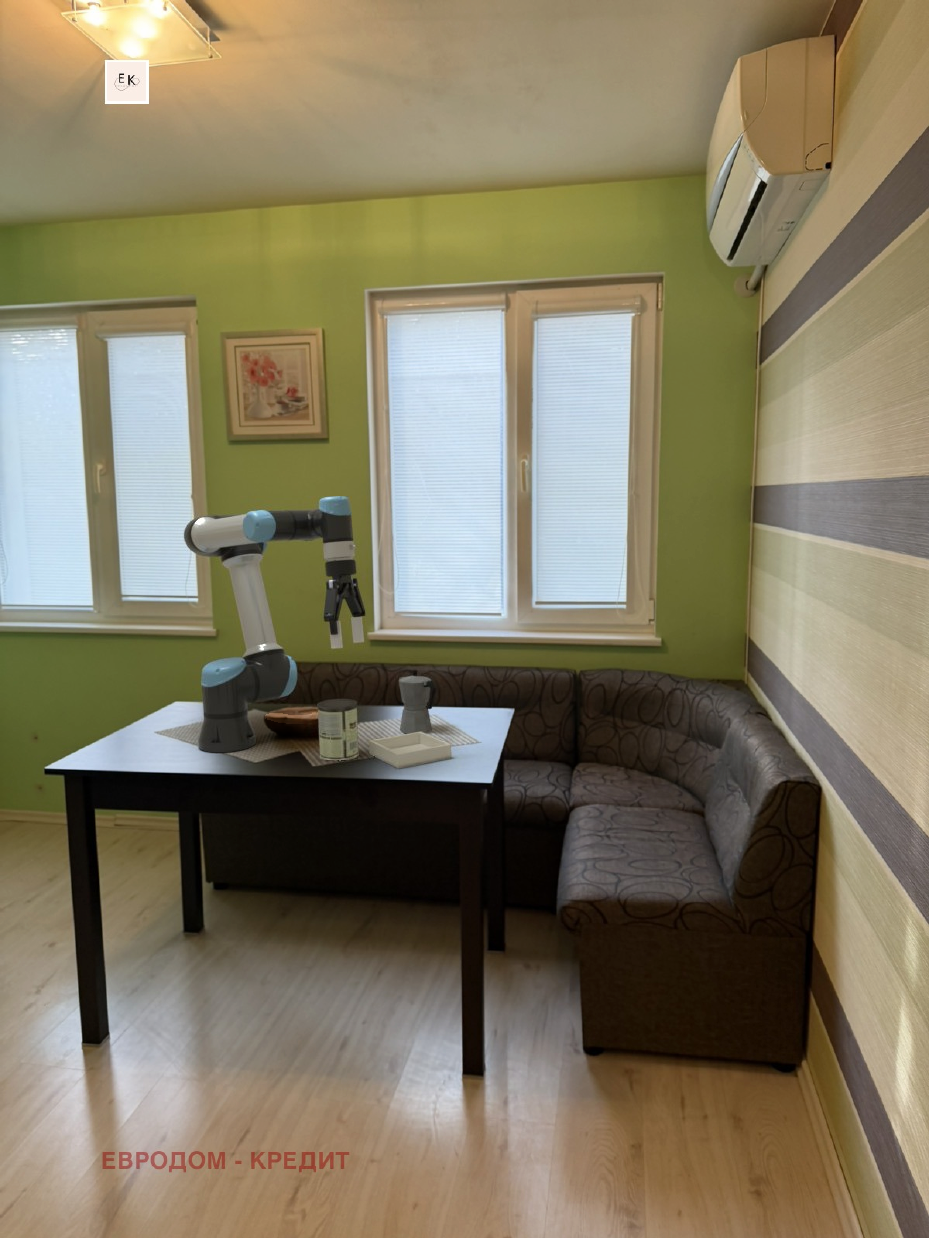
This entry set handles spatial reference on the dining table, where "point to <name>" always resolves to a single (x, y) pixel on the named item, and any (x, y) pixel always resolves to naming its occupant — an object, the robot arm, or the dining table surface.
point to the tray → (409, 749)
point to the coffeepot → (416, 703)
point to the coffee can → (338, 729)
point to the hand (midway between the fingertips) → (348, 645)
